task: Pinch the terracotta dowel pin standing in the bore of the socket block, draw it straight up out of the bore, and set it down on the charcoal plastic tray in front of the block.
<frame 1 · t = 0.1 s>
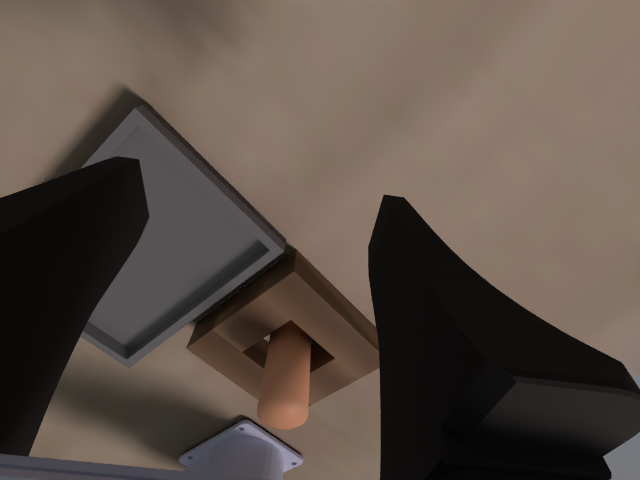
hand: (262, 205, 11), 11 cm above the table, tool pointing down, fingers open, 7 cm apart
tray: (141, 251, 24), on the table
socket block: (291, 329, 28), on the table
pin: (287, 366, 25), in the socket block
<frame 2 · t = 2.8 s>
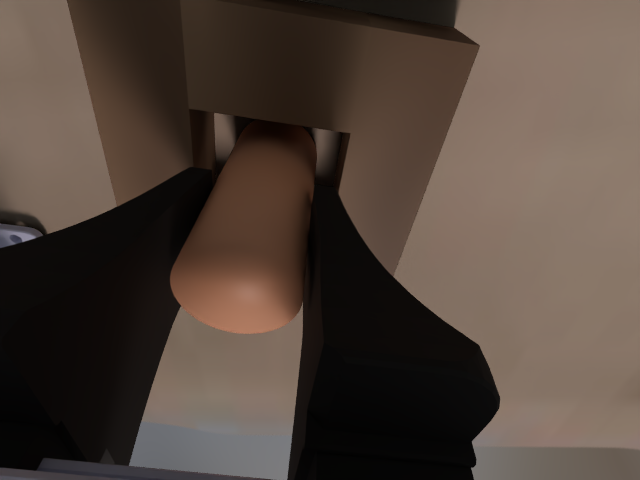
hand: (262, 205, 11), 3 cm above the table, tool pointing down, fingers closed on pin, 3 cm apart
socket block: (276, 155, 14), on the table
pin: (262, 207, 11), in the socket block, touching gripper
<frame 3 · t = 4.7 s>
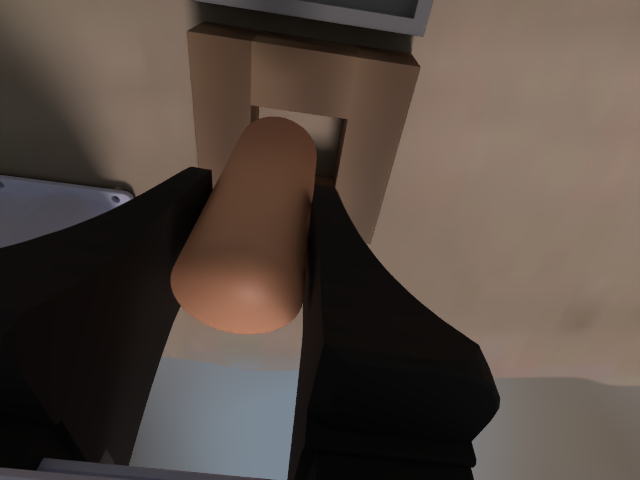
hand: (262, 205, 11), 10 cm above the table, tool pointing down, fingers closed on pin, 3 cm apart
socket block: (299, 136, 21), on the table
pin: (262, 207, 11), point 10 cm above the table, touching gripper
when the fingers open (5 cm above the table, at t = 7.0 s): pin stays where it is, resting on tray.
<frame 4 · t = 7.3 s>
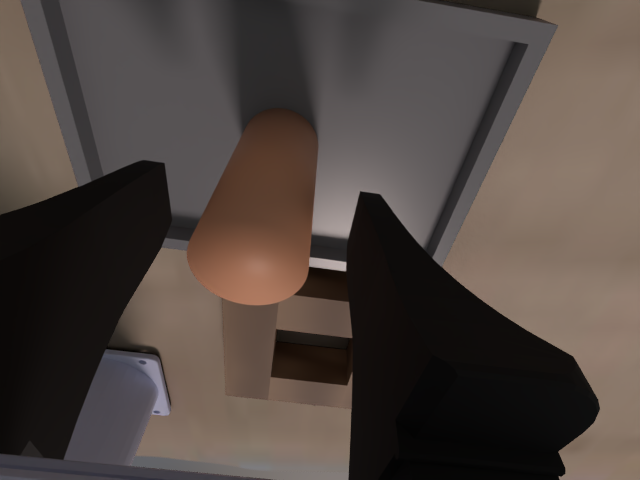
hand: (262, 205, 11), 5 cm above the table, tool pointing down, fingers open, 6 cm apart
tray: (281, 138, 15), on the table
socket block: (316, 323, 22), on the table
pin: (268, 191, 12), point 4 cm above the table, touching tray
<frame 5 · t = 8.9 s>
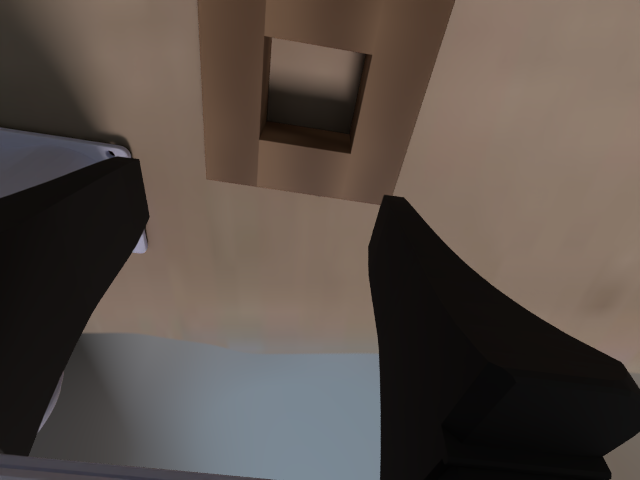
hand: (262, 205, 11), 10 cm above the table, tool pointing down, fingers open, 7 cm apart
socket block: (314, 84, 19), on the table
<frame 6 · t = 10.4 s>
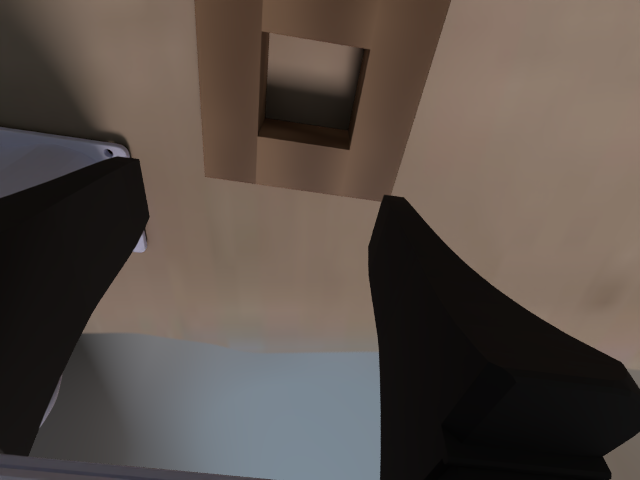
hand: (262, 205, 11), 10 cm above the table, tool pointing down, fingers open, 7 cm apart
socket block: (312, 80, 19), on the table
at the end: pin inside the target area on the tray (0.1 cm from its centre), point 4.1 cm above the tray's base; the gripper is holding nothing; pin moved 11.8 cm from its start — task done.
